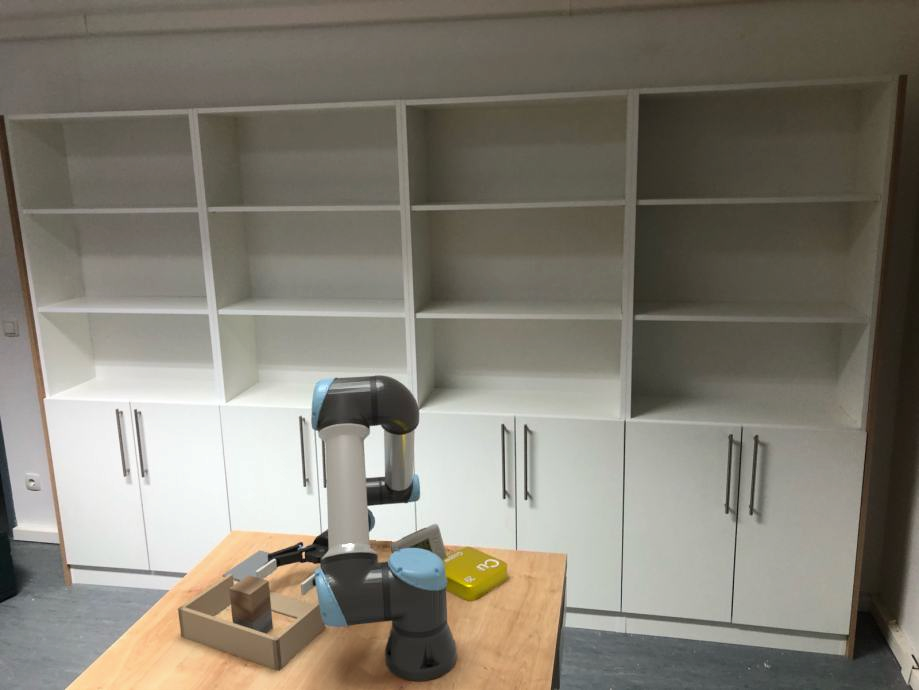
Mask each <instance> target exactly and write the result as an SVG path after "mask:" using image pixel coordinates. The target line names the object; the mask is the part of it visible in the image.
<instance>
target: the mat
mask: <svg viewBox="0 0 919 690" xmlns="http://www.w3.org/2000/svg"><path fill="white" fill-rule="evenodd" d="M270 553H271V552H268V551H264V550H261V549H260V550H258V551H257V552H255V553H253V554H251V556H249V557H248V558H246V559H244V560H243V561H240V563H238V564H237V565H235V566H234V567H232V568H231V569H229V570H228V571H226V572H225V573H223V574H222V578H224V577H226V576H227V575H229V574H233V581H237V582H239V581H240V580H242V579H243V578H245V577H246V576H248V575H250V576H253V577H256V571H257V570H258V569H260V568H261V567H262V566H263V565H264V564H265V563H267V562H268V554H270Z"/></svg>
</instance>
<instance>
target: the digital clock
mask: <svg viewBox="0 0 919 690" xmlns="http://www.w3.org/2000/svg"><path fill="white" fill-rule="evenodd" d="M404 548H420V549H424V550H428V551H430V552H432V553H434V554H436V555H437V556H439V557H440V558H441V559H443V558H445V557H447V556H448V555H447V552H446V548H445V544H444V541H443V537H442V534H441V529H440V527H439V525H438V524H437V523H433V524H431V525H429V526H427V527H423V528H421V529H418V530H416V531H414V532H412V533H410V534H408V535H405V536H403V537H401V539H399V540H396V541H394V542H392V543H391V544H390V551H391V554H392V553H394V552H395V551H399V550H400V549H404Z"/></svg>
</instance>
